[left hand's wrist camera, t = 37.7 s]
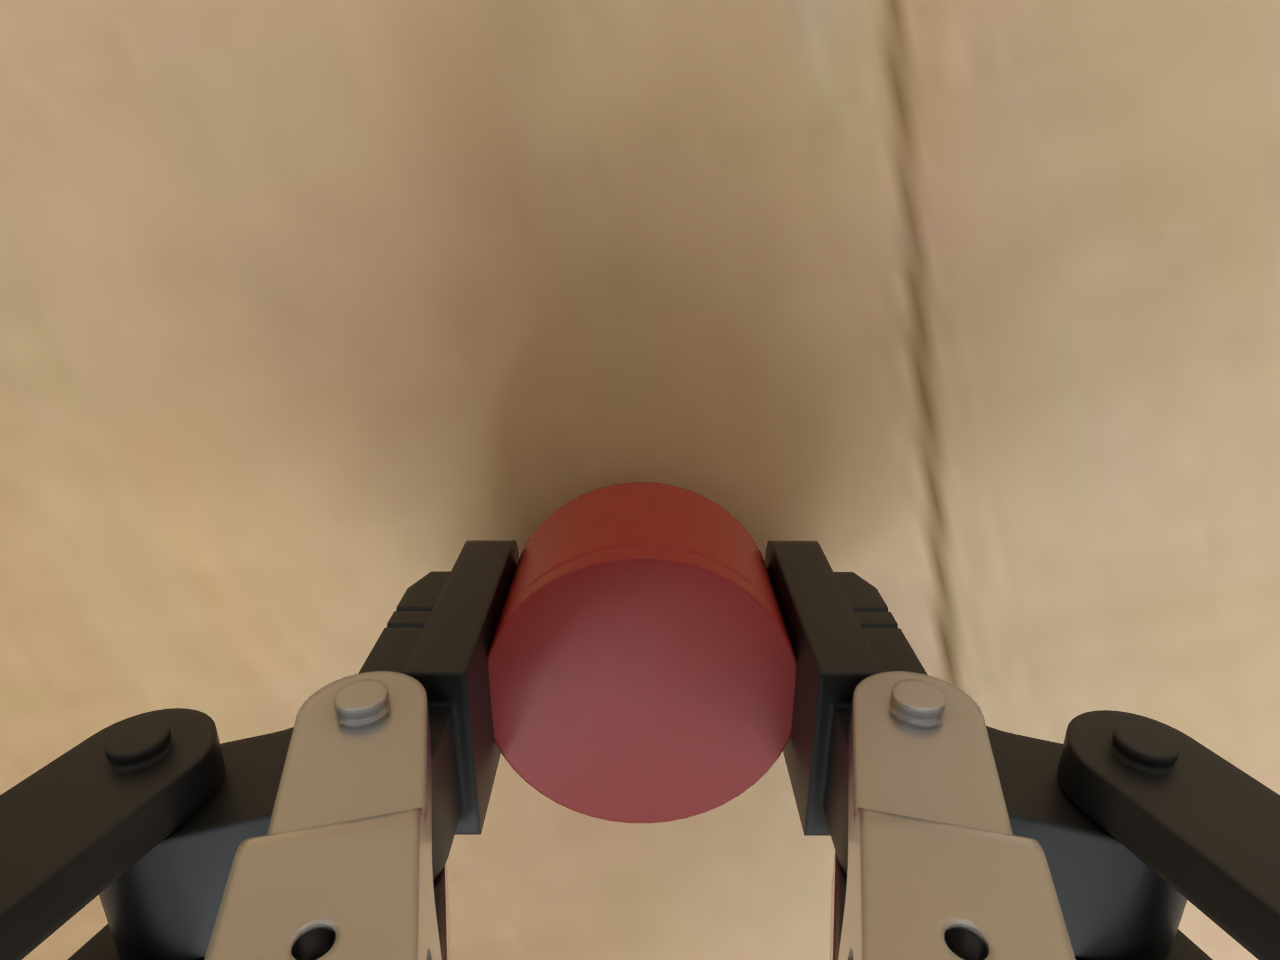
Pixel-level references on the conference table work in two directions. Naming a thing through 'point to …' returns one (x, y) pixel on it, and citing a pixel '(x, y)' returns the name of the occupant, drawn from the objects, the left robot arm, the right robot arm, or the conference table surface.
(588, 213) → the conference table surface
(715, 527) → the cap
